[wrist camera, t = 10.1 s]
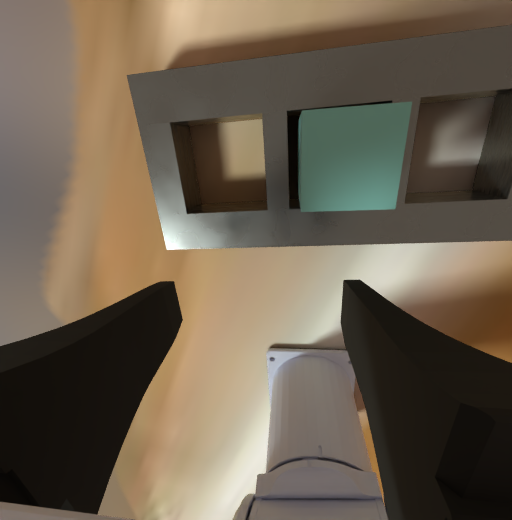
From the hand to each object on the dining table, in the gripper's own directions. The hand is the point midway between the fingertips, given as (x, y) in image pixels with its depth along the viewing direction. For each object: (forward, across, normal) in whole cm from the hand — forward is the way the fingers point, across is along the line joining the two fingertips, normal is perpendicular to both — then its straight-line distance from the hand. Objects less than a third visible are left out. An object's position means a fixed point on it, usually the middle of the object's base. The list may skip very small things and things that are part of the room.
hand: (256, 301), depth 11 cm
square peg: (+10, -4, -5) cm, 12 cm away
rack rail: (+9, -4, -5) cm, 11 cm away
